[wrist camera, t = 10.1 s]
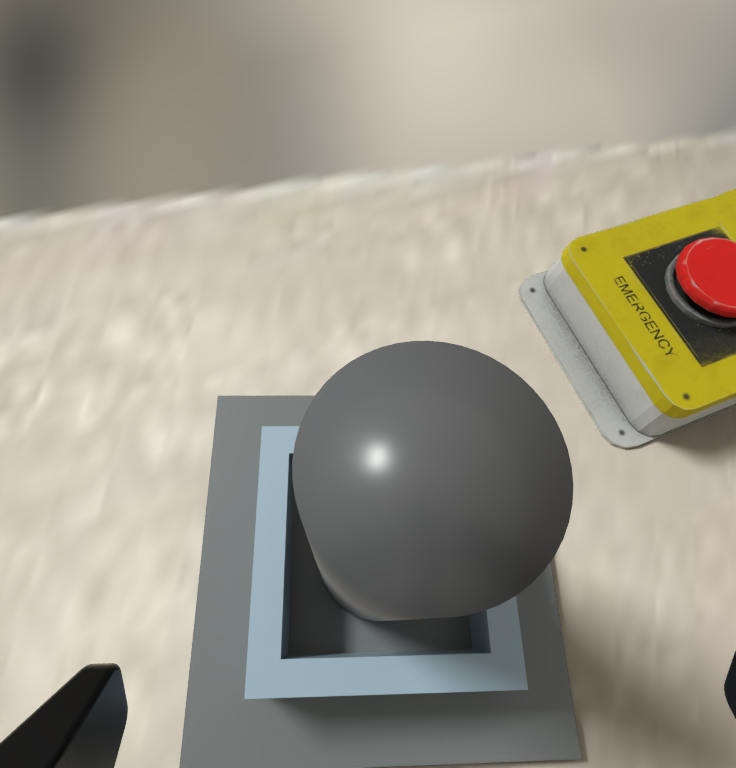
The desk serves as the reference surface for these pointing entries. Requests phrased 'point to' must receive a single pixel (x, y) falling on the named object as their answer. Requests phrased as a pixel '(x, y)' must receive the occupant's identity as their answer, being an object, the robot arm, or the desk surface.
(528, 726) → the dock
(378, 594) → the plug
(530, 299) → the emergency button
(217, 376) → the desk surface
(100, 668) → the robot arm
